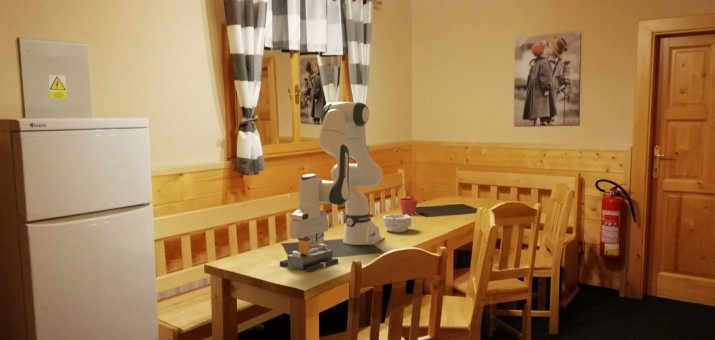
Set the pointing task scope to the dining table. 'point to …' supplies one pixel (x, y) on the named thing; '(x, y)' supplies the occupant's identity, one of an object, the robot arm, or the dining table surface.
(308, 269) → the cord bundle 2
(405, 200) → the flower pot
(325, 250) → the grey machine base
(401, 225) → the paper bowls
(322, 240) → the ink box
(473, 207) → the dining table surface
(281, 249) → the dining table surface
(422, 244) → the dining table surface
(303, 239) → the orange upright block
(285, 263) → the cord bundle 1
